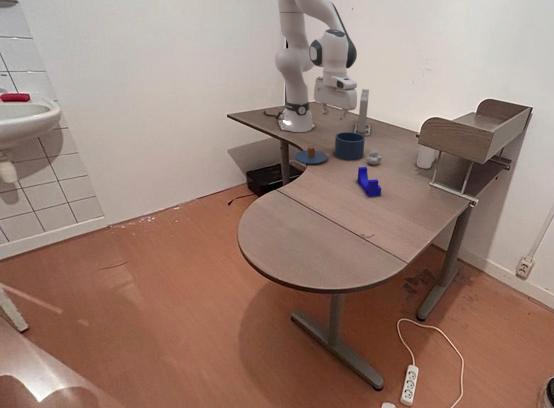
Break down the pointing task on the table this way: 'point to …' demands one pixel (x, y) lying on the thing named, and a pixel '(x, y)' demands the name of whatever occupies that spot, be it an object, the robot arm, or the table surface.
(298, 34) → the robot arm
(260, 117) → the table surface
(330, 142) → the table surface
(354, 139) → the pail
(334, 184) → the table surface
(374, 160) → the rubber duck
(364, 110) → the network device
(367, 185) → the blue l-shaped block
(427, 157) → the can
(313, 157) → the pail lid
